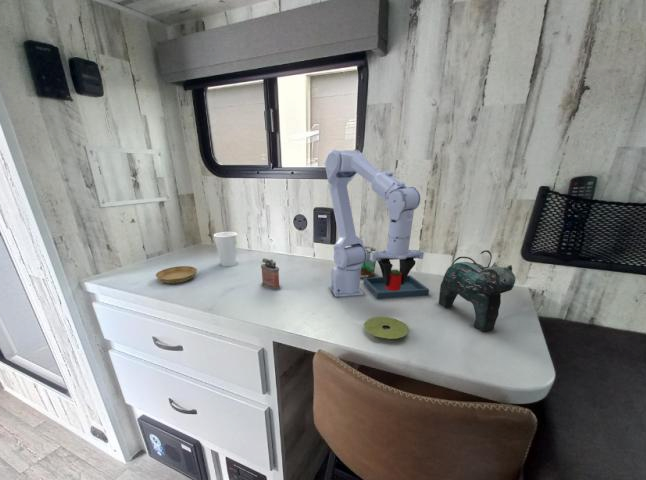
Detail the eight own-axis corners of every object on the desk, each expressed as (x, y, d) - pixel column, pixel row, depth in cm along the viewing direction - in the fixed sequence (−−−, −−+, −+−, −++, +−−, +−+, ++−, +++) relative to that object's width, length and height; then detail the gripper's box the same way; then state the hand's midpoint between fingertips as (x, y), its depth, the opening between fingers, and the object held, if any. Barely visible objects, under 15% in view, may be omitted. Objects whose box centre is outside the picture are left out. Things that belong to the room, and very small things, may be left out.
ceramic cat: (502, 333, 79) (524, 258, 71) (481, 337, 78) (502, 261, 69) (448, 301, 97) (461, 239, 88) (431, 304, 95) (442, 240, 86)
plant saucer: (165, 289, 108) (163, 282, 107) (151, 278, 118) (150, 271, 117) (204, 278, 117) (203, 272, 116) (188, 269, 127) (187, 263, 126)
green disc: (380, 349, 73) (381, 342, 72) (355, 327, 82) (355, 321, 82) (417, 338, 77) (418, 332, 76) (389, 319, 86) (390, 313, 86)
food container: (376, 281, 113) (379, 255, 109) (360, 280, 114) (361, 254, 110) (376, 270, 124) (378, 246, 119) (361, 269, 125) (362, 245, 121)
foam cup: (222, 260, 138) (219, 231, 133) (242, 261, 137) (239, 231, 132) (214, 267, 130) (210, 236, 124) (235, 267, 129) (231, 237, 123)
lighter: (282, 288, 108) (280, 260, 104) (275, 290, 106) (273, 263, 102) (267, 282, 113) (265, 256, 109) (260, 285, 111) (258, 258, 107)
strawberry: (389, 291, 85) (391, 274, 83) (383, 286, 89) (385, 269, 87) (402, 290, 86) (405, 273, 84) (396, 285, 89) (398, 268, 87)
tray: (376, 299, 99) (377, 293, 98) (363, 284, 111) (363, 278, 110) (428, 295, 101) (429, 289, 100) (409, 281, 113) (410, 275, 112)
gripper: (378, 241, 77) (373, 291, 82) (432, 238, 78) (424, 287, 84) (368, 234, 83) (365, 281, 89) (419, 232, 85) (412, 278, 91)
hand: (393, 283), depth 87 cm, fingers closed on strawberry, 4 cm apart
